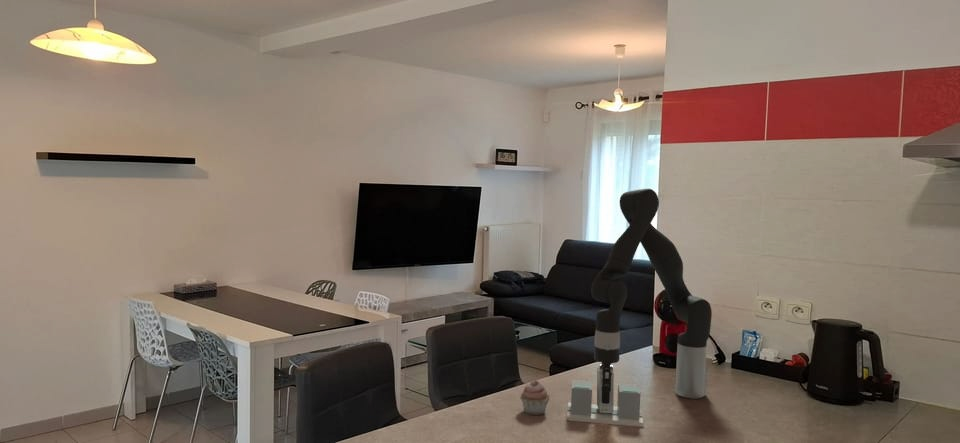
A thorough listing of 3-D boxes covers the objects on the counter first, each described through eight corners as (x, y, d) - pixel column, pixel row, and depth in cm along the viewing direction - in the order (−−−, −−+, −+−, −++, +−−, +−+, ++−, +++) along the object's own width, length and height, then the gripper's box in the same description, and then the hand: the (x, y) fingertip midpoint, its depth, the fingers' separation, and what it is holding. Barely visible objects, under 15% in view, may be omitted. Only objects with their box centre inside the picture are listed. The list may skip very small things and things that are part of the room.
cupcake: (515, 414, 189) (516, 382, 188) (524, 404, 198) (524, 373, 197) (545, 419, 186) (546, 386, 185) (552, 408, 194) (554, 377, 194)
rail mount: (639, 411, 194) (641, 382, 193) (643, 426, 182) (644, 395, 181) (568, 405, 197) (569, 376, 196) (567, 420, 185) (568, 389, 185)
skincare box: (613, 413, 186) (615, 373, 185) (598, 412, 186) (600, 373, 185) (610, 405, 192) (611, 367, 192) (595, 405, 193) (596, 366, 192)
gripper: (594, 338, 196) (592, 390, 197) (594, 350, 181) (592, 406, 183) (618, 339, 194) (616, 392, 196) (621, 352, 180) (619, 408, 181)
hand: (605, 399), depth 189 cm, fingers closed on skincare box, 6 cm apart
